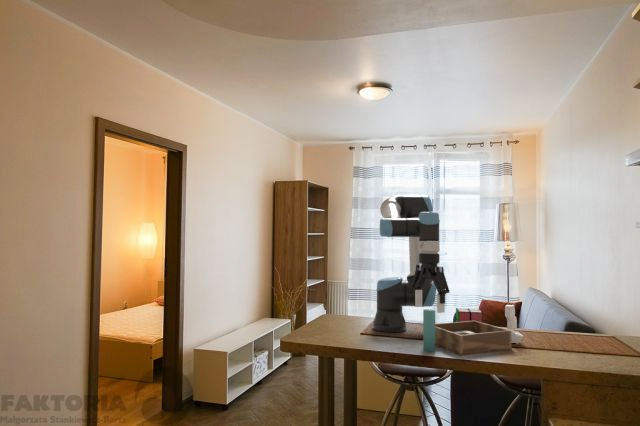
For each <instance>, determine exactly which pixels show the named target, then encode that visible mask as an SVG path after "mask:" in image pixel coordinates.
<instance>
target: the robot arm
mask: <svg viewBox="0 0 640 426" xmlns="http://www.w3.org/2000/svg"><path fill="white" fill-rule="evenodd" d="M379 212H380V215H381V216H382V218H380V220H379V235H380V236H381V237H384V238H385V237H387V238H408V244H409V245H408V253H409V254H408V255H409V274H407V276H406V279H405V280H403V279H404V278H403V277H402V276H391V277H384V278H381V279H378V280H377V282H376V313H375V315H374V318H373V322H372V329H373V330H375V331H379V332H384V333H385V332H386V333H401V332H404V331H407V323H406V319H405V317H404V313H403V307H416V308H425V307H426V308H427V307H433V306H434V304H435V301H436V312H437V313H438V314H441V313H442V314H443V313H445V312H446V310H445V309H446V308H445V305H446V295H447V294H449V293H450V289H449V285H448V281H447V279H446V276H445V273H444V272H445V271H444V266H438V264H439V263H440V254H439V253H440V251H441V250H440V249H441V248H440V247H441V246H440V222H441V221H440V215H439V213H438V212H436V211H433V203H432V199H431V197H430V196H429V195H427V194H426V195H425V194H396V195H393V196H390V197H388V198H387V199H385V200H384V201H383V202H381V205H380V211H379ZM437 292H438V293H437Z"/></svg>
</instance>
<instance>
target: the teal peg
mask: <svg viewBox="0 0 640 426" xmlns="http://www.w3.org/2000/svg"><path fill="white" fill-rule="evenodd" d="M422 312H423V313H422V314H423V315H422V316H423V317H422V318H423V319H422V321H423V322H422V323H423V326H422V327H423V328H422V329H423V331H422V332H423V333H422V337H423V341H422V342H423V343H422V345H423V348H422V351H423V352H425V353H436V349H437V347H436V344H435V324H436V310H435V309H427V308H426V309H423V311H422Z"/></svg>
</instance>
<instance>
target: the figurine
mask: <svg viewBox="0 0 640 426" xmlns="http://www.w3.org/2000/svg"><path fill="white" fill-rule="evenodd" d="M515 314H516V308H515V304H506V305H505V306H504V315H505V317H506V321H507V322H506V323H507V324H506V325H507V327H506V329H507V330H511V343H517V344H516V345H519V344H520V342H521V340H522V339H523V337H524V335H523V334H522V333H520V332H519V331H515V330H516V329H517V328H518V323H517V322H518V320H517V318H518V317H517V316H515Z"/></svg>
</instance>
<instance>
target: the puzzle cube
mask: <svg viewBox="0 0 640 426" xmlns="http://www.w3.org/2000/svg"><path fill="white" fill-rule="evenodd" d="M463 321H478V322H481V323H483V312H482V311H481V310H480V309H479V308H472V307H469V308H467V307H456V308H455V322H463Z"/></svg>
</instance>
